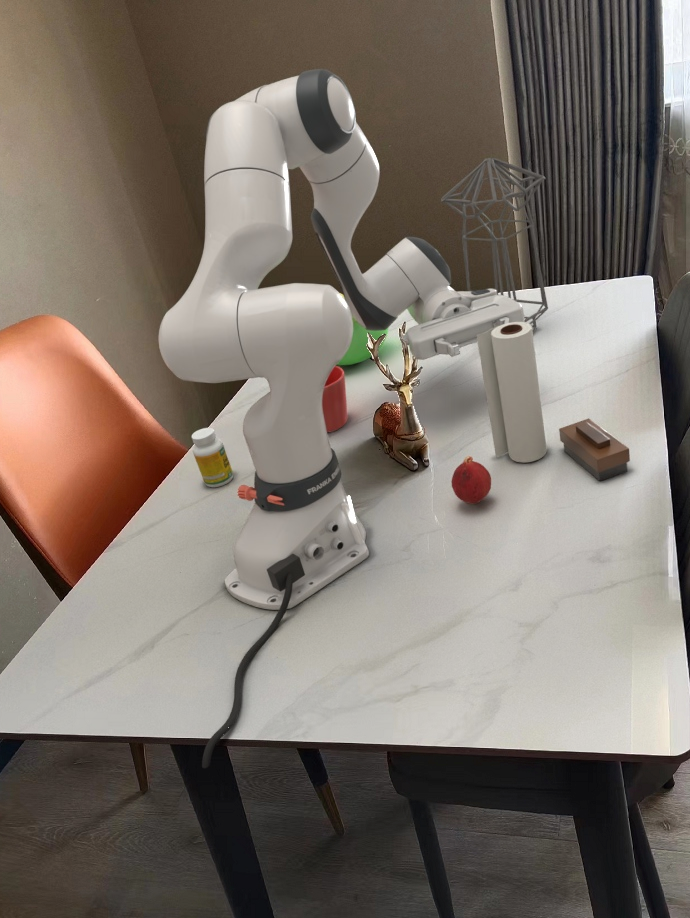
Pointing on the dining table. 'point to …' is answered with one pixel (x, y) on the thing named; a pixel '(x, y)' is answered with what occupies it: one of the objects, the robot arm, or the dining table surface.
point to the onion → (471, 481)
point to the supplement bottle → (211, 458)
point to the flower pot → (334, 400)
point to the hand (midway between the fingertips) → (482, 342)
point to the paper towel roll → (513, 391)
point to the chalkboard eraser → (595, 449)
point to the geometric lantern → (477, 182)
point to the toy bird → (359, 344)
